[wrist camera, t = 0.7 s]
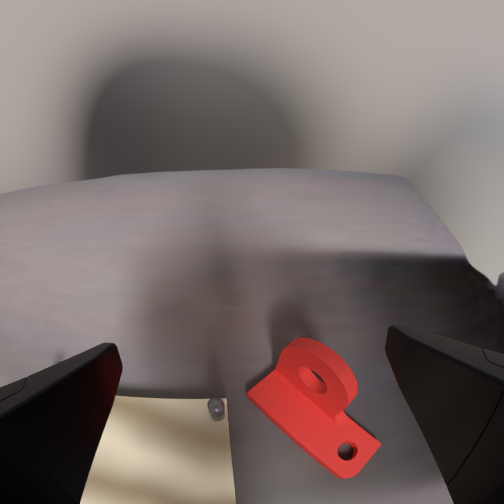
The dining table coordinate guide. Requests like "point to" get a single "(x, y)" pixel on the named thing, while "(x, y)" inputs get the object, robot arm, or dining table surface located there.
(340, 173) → the dining table surface
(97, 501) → the peg board
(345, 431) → the bracket
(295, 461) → the dining table surface
